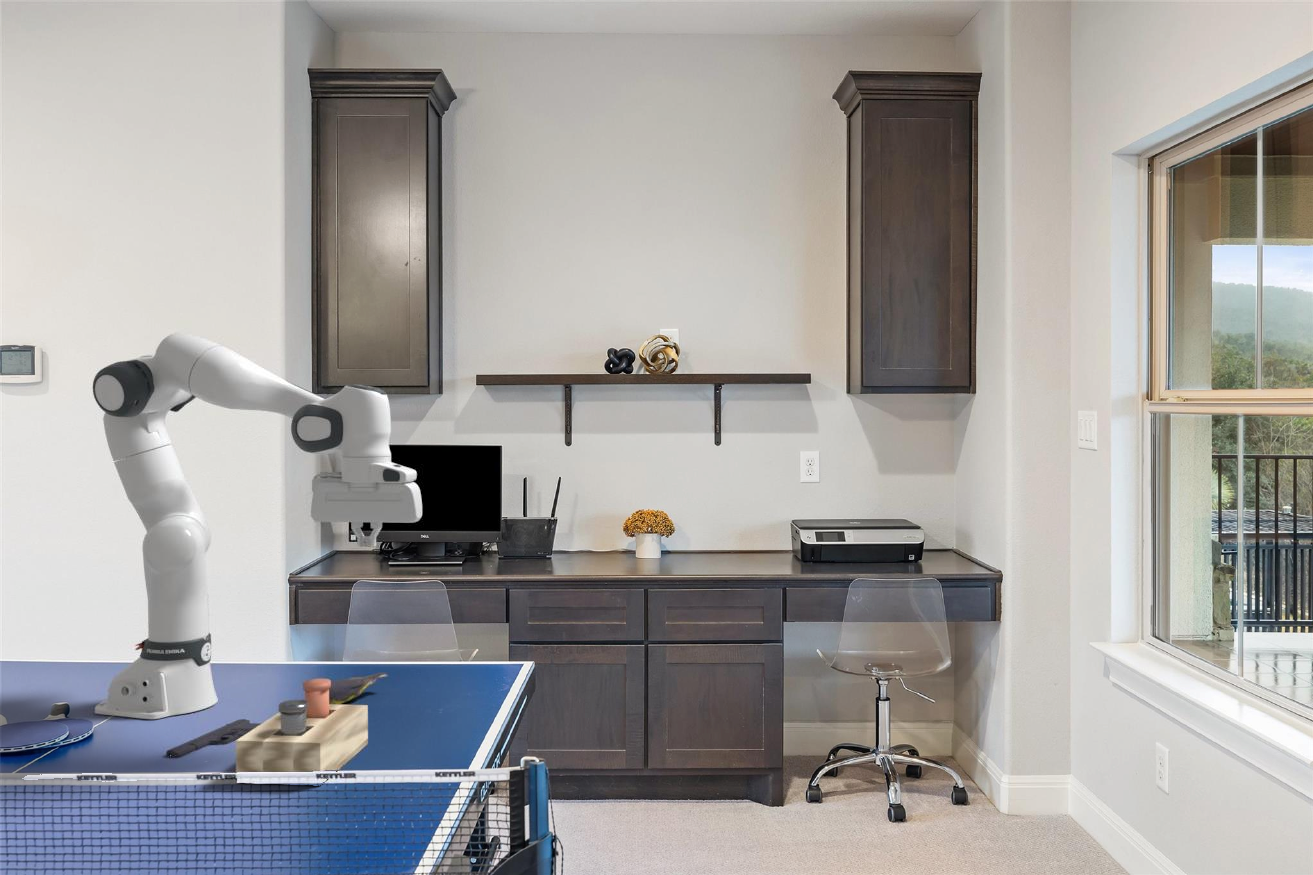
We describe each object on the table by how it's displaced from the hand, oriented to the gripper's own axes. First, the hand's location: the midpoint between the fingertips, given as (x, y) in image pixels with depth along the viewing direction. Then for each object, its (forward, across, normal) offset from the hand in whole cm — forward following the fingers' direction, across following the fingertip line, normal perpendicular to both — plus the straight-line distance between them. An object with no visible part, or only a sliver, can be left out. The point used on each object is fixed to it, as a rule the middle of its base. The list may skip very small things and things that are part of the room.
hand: (366, 546), depth 175 cm
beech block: (+35, -5, -15) cm, 38 cm away
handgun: (+36, -23, -6) cm, 43 cm away
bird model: (+35, -12, +19) cm, 42 cm away
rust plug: (+32, -5, -10) cm, 34 cm away
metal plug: (+34, -5, -19) cm, 39 cm away
